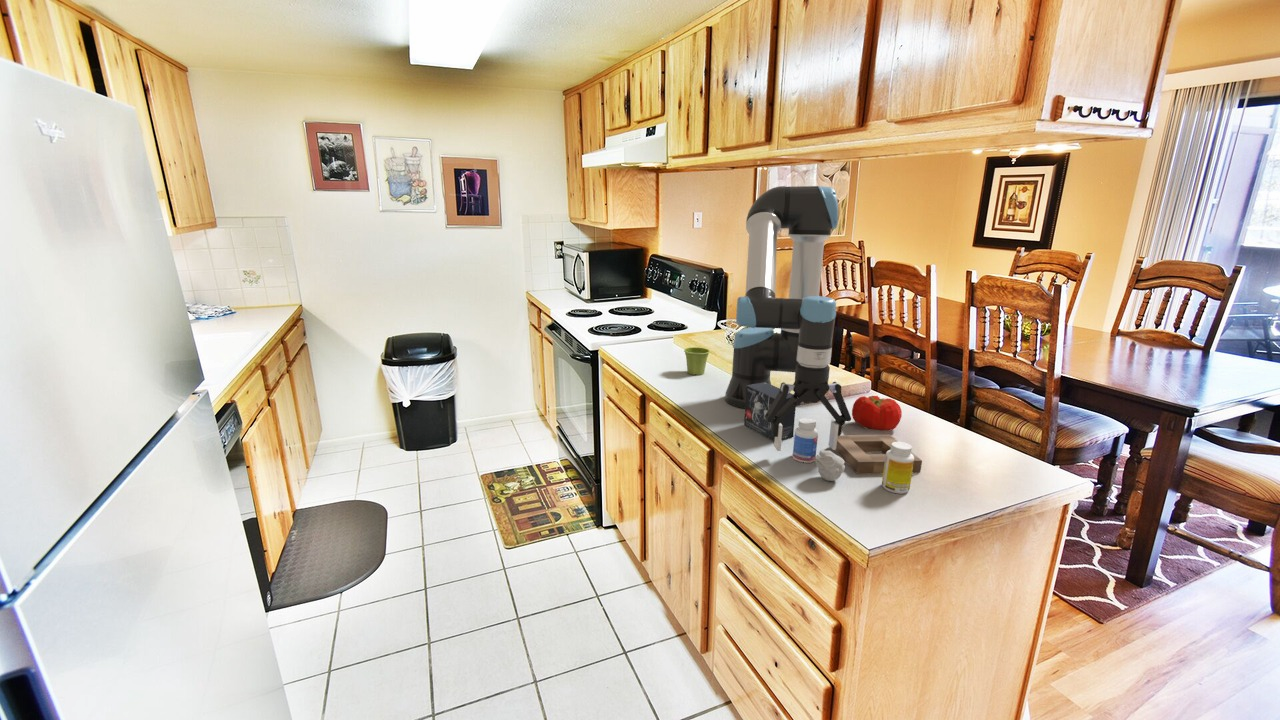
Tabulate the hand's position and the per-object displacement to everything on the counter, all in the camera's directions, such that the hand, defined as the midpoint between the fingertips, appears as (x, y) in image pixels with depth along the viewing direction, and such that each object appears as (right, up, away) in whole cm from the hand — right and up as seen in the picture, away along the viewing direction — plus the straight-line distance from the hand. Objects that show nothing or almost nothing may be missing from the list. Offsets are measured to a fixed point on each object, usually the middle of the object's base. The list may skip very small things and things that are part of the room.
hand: (804, 448), depth 132 cm
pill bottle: (0, -3, +1) cm, 3 cm away
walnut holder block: (+17, -3, +1) cm, 17 cm away
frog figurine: (+2, -6, -9) cm, 11 cm away
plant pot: (-19, +16, +69) cm, 74 cm away
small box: (-5, +2, +17) cm, 18 cm away
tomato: (+26, +2, +21) cm, 33 cm away
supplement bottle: (+16, -7, -13) cm, 22 cm away
